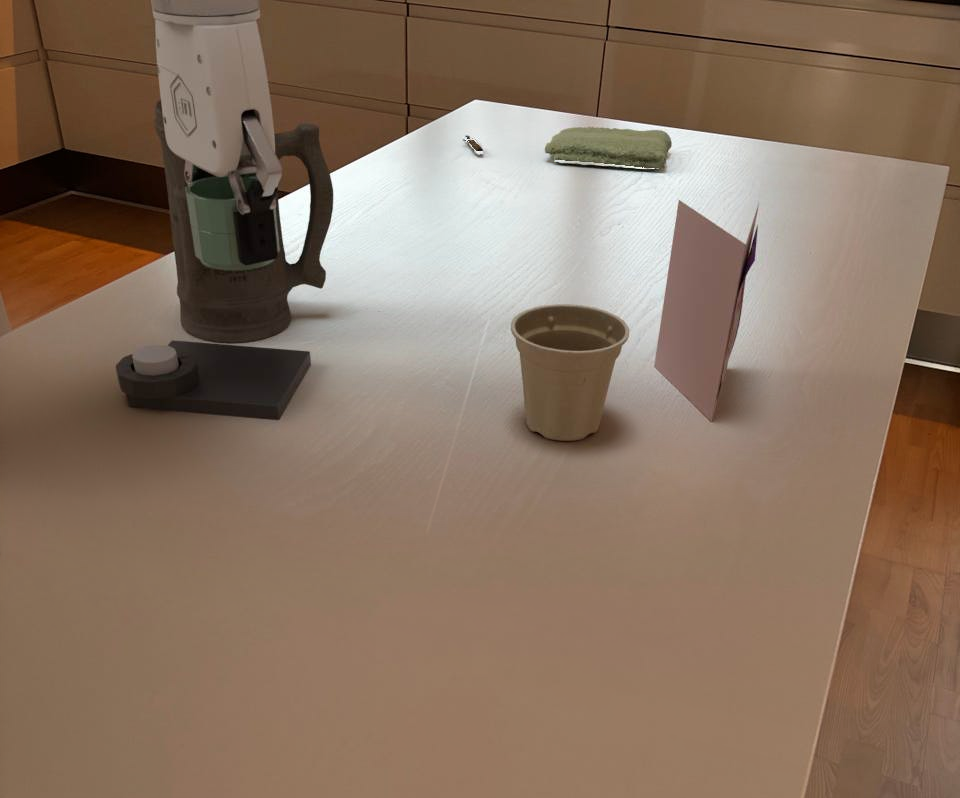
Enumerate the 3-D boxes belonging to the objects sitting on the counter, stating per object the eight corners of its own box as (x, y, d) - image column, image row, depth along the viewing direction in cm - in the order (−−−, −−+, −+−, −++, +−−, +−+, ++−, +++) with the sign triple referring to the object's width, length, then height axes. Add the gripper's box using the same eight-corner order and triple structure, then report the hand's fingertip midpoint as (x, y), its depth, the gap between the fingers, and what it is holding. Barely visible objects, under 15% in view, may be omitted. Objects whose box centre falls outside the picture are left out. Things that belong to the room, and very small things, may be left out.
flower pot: (536, 461, 82) (544, 359, 76) (487, 409, 88) (491, 312, 83) (637, 440, 85) (652, 341, 80) (583, 392, 92) (593, 297, 86)
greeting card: (721, 423, 88) (757, 246, 78) (636, 409, 89) (660, 233, 80) (736, 369, 96) (769, 203, 87) (657, 357, 98) (682, 192, 88)
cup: (184, 269, 82) (172, 197, 79) (211, 240, 87) (201, 172, 84) (266, 274, 82) (259, 202, 78) (289, 246, 87) (282, 177, 83)
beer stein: (182, 350, 96) (161, 115, 83) (165, 307, 103) (144, 86, 91) (342, 341, 101) (345, 119, 89) (315, 301, 108) (314, 91, 96)
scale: (111, 411, 86) (103, 377, 84) (161, 353, 95) (155, 322, 93) (276, 425, 85) (272, 391, 83) (311, 365, 94) (308, 334, 92)
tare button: (128, 375, 86) (125, 360, 85) (144, 357, 88) (141, 342, 87) (170, 379, 85) (167, 364, 84) (184, 361, 88) (182, 346, 87)
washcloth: (556, 141, 158) (558, 119, 156) (671, 152, 156) (674, 129, 153) (542, 164, 148) (543, 140, 146) (664, 175, 146) (667, 151, 144)
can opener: (483, 156, 150) (483, 147, 149) (467, 156, 150) (468, 147, 149) (475, 140, 157) (475, 132, 156) (460, 140, 157) (460, 132, 156)
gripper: (104, -20, 76) (148, 227, 87) (212, 15, 66) (246, 290, 77) (197, -26, 80) (228, 211, 91) (313, 6, 69) (331, 270, 81)
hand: (236, 245), depth 84 cm, fingers closed on cup, 6 cm apart
